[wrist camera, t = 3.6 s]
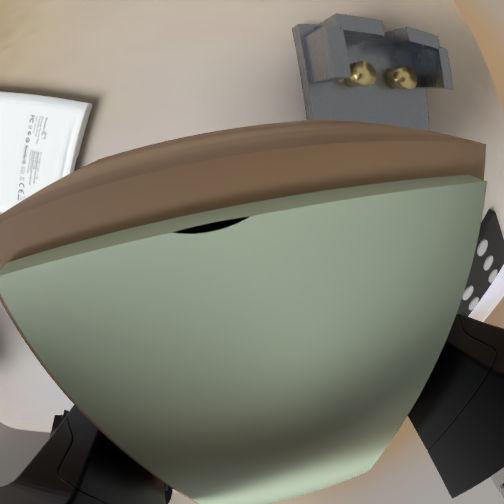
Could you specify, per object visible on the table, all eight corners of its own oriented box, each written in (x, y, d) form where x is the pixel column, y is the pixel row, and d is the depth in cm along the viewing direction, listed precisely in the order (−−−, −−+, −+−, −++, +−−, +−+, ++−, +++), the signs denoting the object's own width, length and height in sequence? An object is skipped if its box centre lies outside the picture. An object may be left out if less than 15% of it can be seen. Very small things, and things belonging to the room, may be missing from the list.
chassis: (420, 206, 21) (452, 223, 17) (317, 229, 20) (343, 254, 16) (410, 42, 14) (446, 37, 11) (292, 28, 13) (317, 8, 10)
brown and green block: (325, 370, 11) (376, 469, 7) (191, 402, 11) (206, 514, 6) (326, 119, 7) (502, 149, 2) (99, 159, 6) (-44, 247, 1)
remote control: (325, 397, 31) (331, 409, 29) (486, 207, 24) (498, 213, 22) (369, 405, 36) (374, 414, 34) (501, 252, 28) (510, 258, 27)
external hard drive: (-27, 90, 10) (96, 104, 14) (-42, 190, 12) (70, 223, 16) (-39, 90, 8) (87, 102, 12) (-53, 196, 11) (61, 232, 15)
